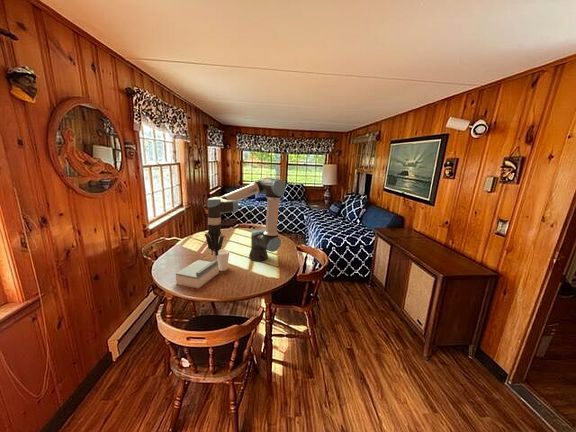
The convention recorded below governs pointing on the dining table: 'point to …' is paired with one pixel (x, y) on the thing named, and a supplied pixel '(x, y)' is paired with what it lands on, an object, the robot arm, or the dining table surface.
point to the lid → (197, 269)
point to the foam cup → (223, 259)
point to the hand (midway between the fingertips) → (215, 260)
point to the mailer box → (197, 282)
